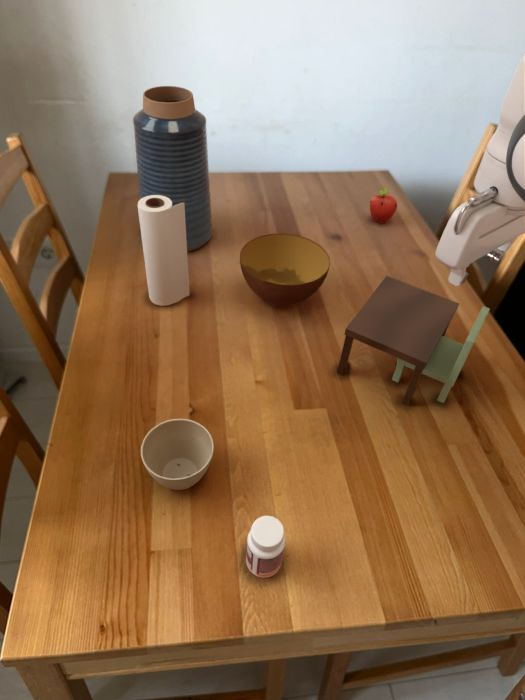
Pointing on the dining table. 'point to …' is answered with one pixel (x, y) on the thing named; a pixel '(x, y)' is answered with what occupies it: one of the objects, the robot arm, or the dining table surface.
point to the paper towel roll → (164, 249)
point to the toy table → (400, 326)
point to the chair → (447, 358)
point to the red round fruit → (382, 207)
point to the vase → (175, 156)
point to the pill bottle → (265, 546)
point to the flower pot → (177, 453)
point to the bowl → (284, 268)
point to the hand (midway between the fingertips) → (475, 271)
